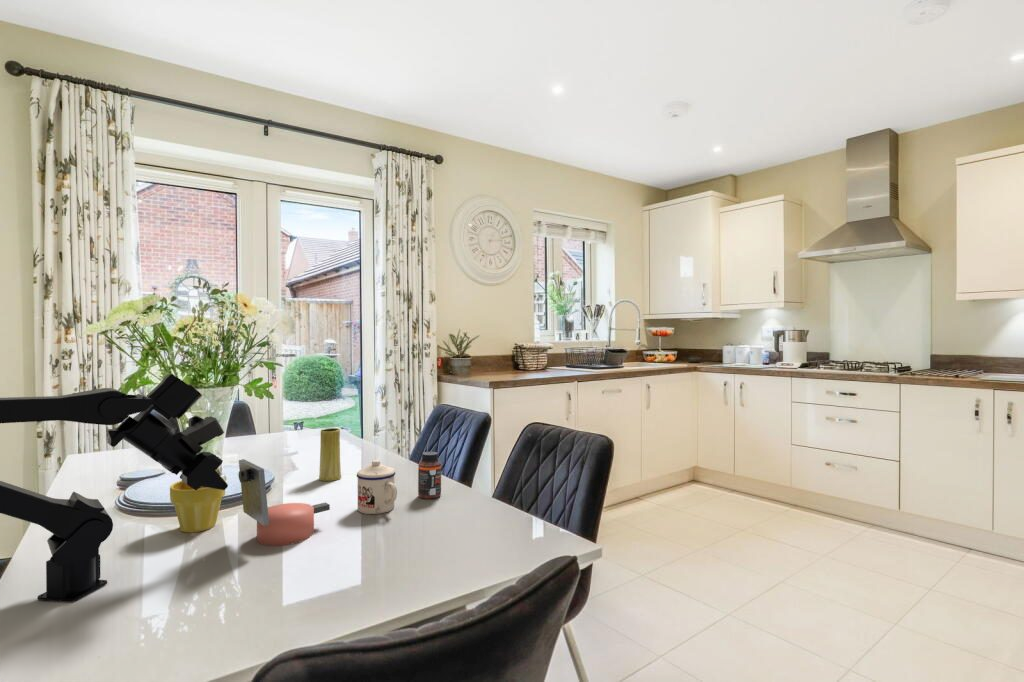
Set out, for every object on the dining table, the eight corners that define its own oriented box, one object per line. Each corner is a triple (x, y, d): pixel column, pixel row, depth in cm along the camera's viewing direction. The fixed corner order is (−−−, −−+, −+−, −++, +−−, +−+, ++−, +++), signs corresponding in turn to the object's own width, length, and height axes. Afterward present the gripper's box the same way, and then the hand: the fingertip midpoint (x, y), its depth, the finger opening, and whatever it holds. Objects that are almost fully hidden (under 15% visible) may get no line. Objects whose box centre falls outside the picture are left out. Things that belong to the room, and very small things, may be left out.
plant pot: (200, 538, 109) (200, 491, 109) (158, 534, 111) (157, 487, 111) (236, 520, 119) (236, 477, 119) (196, 517, 121) (196, 474, 121)
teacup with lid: (348, 509, 127) (348, 461, 127) (379, 500, 134) (380, 454, 134) (379, 520, 120) (379, 469, 119) (410, 510, 127) (411, 462, 127)
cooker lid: (269, 524, 103) (255, 528, 101) (248, 510, 111) (235, 514, 109) (263, 469, 102) (249, 472, 100) (243, 459, 110) (230, 462, 108)
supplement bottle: (439, 499, 135) (439, 455, 135) (416, 499, 135) (416, 455, 135) (442, 492, 141) (443, 450, 141) (420, 492, 141) (420, 450, 141)
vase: (318, 477, 155) (318, 428, 155) (339, 474, 158) (340, 427, 157) (320, 482, 150) (320, 432, 149) (342, 480, 152) (342, 430, 152)
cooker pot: (269, 550, 103) (269, 525, 103) (248, 535, 111) (248, 511, 111) (339, 530, 114) (339, 507, 113) (316, 517, 121) (316, 496, 121)
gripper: (208, 410, 92) (274, 461, 100) (179, 399, 105) (239, 446, 113) (155, 463, 86) (230, 513, 94) (132, 445, 99) (199, 490, 107)
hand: (225, 487), depth 102 cm, fingers closed
